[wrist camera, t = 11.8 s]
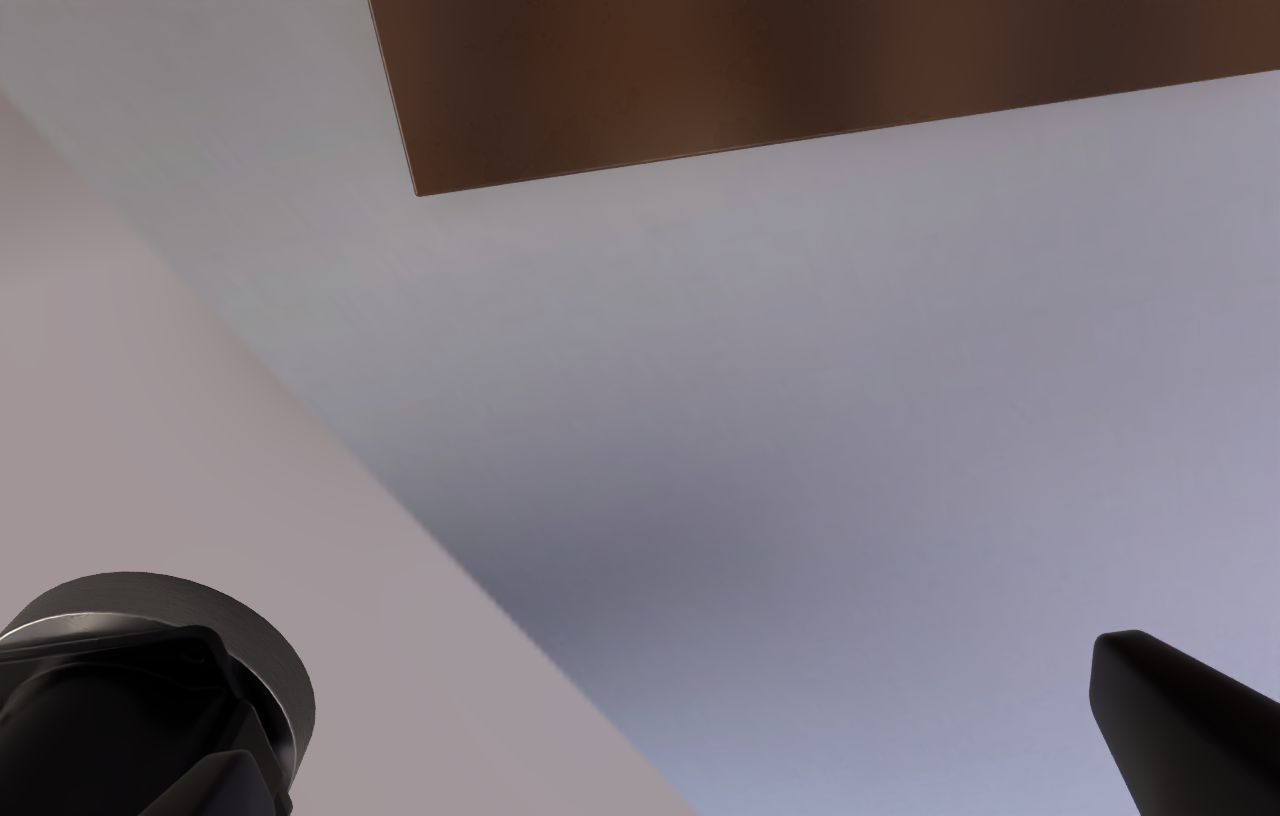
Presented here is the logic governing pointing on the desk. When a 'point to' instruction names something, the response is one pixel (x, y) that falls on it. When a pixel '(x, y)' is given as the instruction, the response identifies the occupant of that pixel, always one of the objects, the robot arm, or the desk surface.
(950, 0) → the walnut board
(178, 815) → the robot arm
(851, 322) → the desk surface
